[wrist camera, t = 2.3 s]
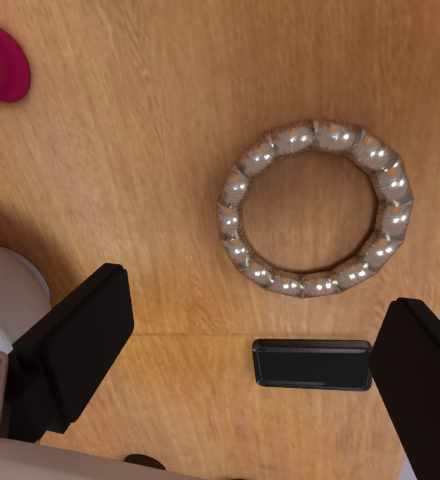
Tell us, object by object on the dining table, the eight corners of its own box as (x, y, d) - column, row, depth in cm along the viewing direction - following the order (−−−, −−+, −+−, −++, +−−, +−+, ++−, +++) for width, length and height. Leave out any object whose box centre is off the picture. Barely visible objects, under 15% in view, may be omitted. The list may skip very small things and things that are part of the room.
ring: (425, 109, 21) (444, 107, 19) (382, 292, 29) (393, 307, 27) (213, 125, 24) (207, 125, 22) (224, 286, 32) (221, 299, 30)
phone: (251, 345, 34) (376, 348, 31) (252, 339, 35) (372, 341, 32) (256, 386, 37) (370, 392, 34) (256, 379, 38) (367, 384, 35)
